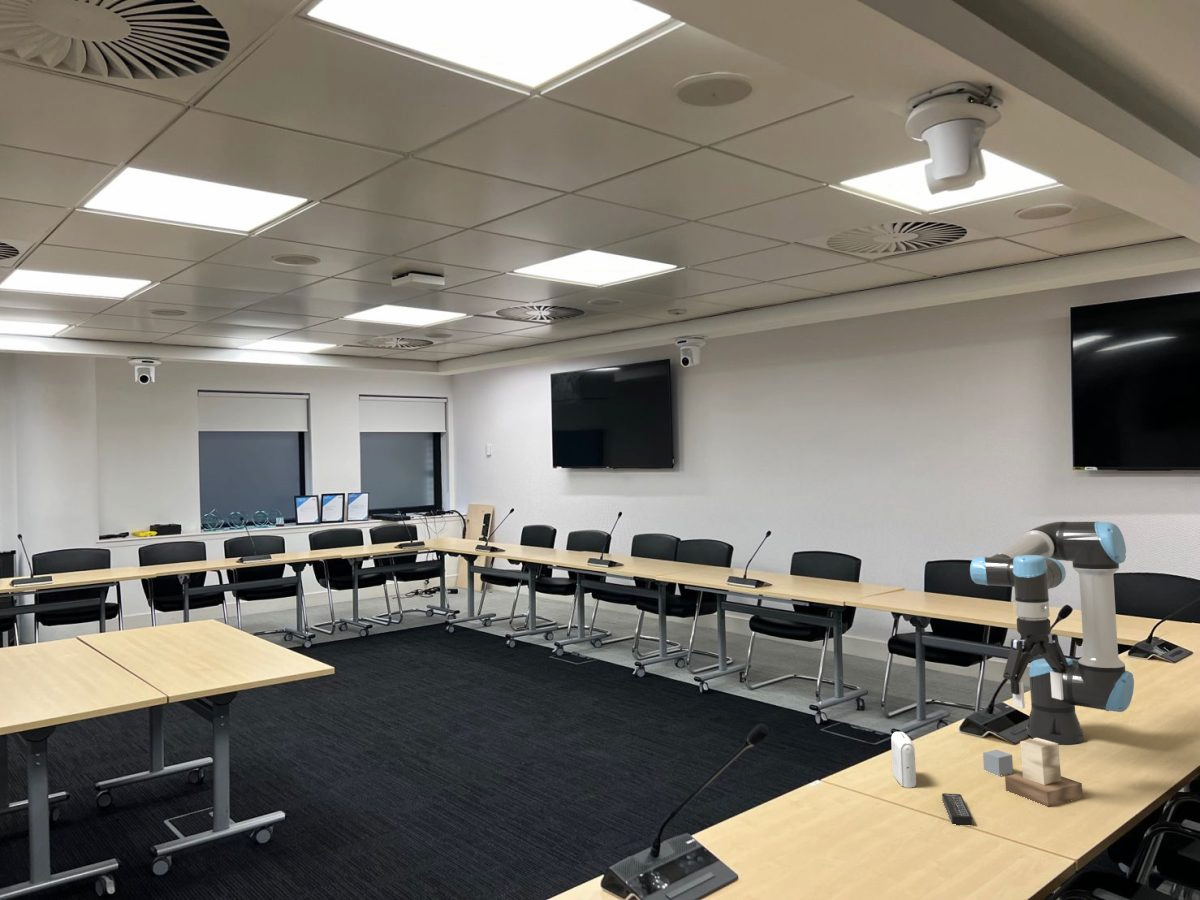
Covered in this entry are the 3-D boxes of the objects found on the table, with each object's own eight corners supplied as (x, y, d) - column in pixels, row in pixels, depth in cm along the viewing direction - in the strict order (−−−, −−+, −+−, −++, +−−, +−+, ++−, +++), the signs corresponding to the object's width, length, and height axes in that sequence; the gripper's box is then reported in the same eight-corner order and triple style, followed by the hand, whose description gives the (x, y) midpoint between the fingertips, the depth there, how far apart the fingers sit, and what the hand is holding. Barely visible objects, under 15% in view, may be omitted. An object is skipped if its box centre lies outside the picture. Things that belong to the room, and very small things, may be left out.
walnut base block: (1039, 784, 213) (1038, 768, 213) (1082, 799, 202) (1081, 783, 202) (1005, 792, 208) (1005, 776, 209) (1048, 809, 197) (1047, 792, 198)
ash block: (1039, 773, 210) (1036, 737, 210) (1061, 780, 204) (1058, 743, 205) (1023, 777, 207) (1020, 741, 208) (1044, 785, 202) (1041, 747, 202)
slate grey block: (997, 768, 224) (996, 749, 225) (1013, 773, 220) (1012, 754, 220) (984, 771, 223) (983, 752, 223) (999, 777, 218) (998, 757, 218)
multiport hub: (952, 826, 190) (951, 816, 190) (942, 802, 204) (941, 792, 204) (973, 827, 188) (972, 817, 189) (961, 803, 203) (960, 793, 203)
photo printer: (918, 788, 212) (916, 739, 213) (901, 788, 213) (899, 739, 213) (907, 774, 222) (904, 727, 223) (891, 774, 223) (888, 727, 223)
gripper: (1009, 625, 199) (1015, 714, 198) (1081, 614, 208) (1086, 698, 208) (984, 621, 206) (989, 706, 205) (1054, 610, 215) (1059, 691, 215)
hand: (1038, 702), depth 206 cm, fingers open, 13 cm apart
